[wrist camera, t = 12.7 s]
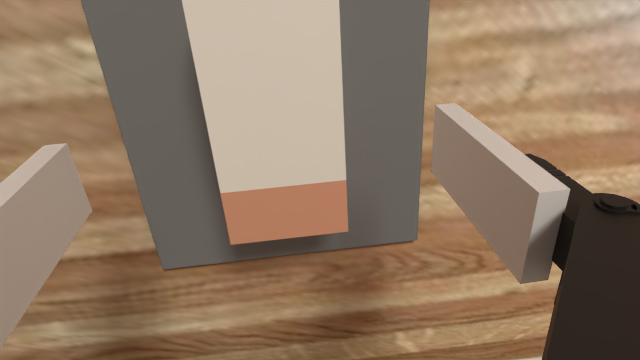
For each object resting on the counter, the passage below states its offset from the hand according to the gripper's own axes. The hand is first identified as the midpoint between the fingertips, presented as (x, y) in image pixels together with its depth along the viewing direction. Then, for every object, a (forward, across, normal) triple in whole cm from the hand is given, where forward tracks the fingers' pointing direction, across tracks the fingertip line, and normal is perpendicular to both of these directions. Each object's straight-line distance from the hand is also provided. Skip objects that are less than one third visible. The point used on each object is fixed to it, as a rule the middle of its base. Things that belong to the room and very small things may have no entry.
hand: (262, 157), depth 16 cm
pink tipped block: (+8, +1, 0) cm, 9 cm away
